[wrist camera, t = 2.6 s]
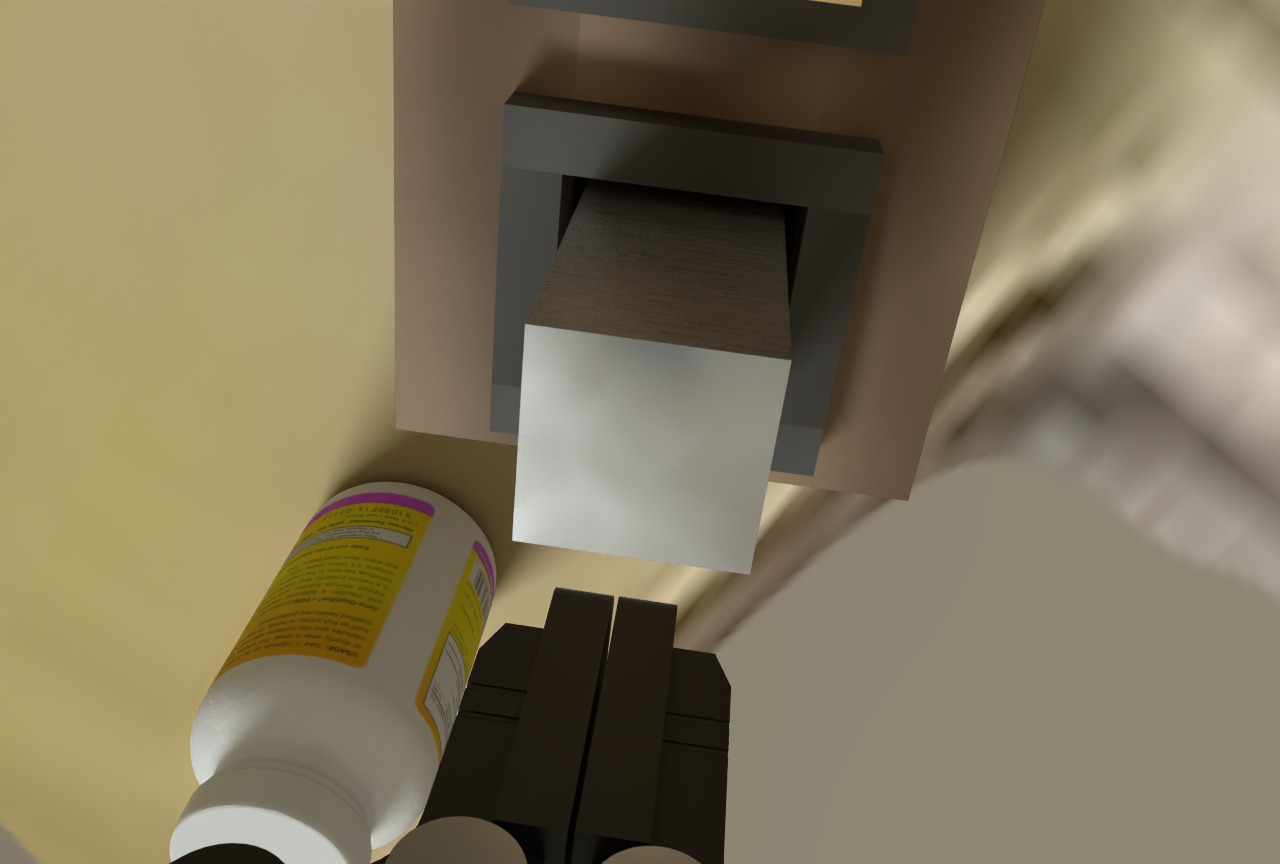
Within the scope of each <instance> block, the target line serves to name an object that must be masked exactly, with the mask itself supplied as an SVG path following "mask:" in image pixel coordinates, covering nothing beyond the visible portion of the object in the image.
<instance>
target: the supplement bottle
mask: <svg viewBox="0 0 1280 864" xmlns="http://www.w3.org/2000/svg"><path fill="white" fill-rule="evenodd" d="M495 587H496V564H495V559H494V555H493V552H492V549H491V547H490V544H489V542H488V540H487V538H486V536H485V535H484V533H483V532H482V530H481V529H480V527H479V526H478V525H477V524H476V522H475V521H474V520H473V519H472V518H471V517H470V516H469V515H468V514H467V513H466V512H465V511H463V510H462V509H461V508H460V507H459V506H457V505H456V504H455V503H453V502H451V501H450V500H448V499H447V498H445V497H443V496H441V495H439V494H438V493H436V492H433V491H431V490H428V489H426V488H423V487H419V486H416V485H412V484H407V483H399V482H373V483H367V484H362V485H359V486H355V487H352V488H350V489H347V490H345V491H343V492H341V493H339V494H337V495H335V496H334V497H333V498H331V499H330V500H328V501H327V502H326V503H325V504H324V505H323V506H322V507H321V508H320V509H319V510H318V511H317V512H316V513H315V515H314V516H313V517H312V519H311V520H310V522H309V523H308V525H307V526H306V528H305V529H304V531H303V533H302V534H301V536H300V538H299V539H298V541H297V543H296V544H295V546H294V548H293V549H292V551H291V553H290V554H289V556H288V558H287V559H286V561H285V563H284V564H283V566H282V568H281V570H280V571H279V573H278V574H277V576H276V578H275V579H274V581H273V583H272V584H271V586H270V588H269V589H268V591H267V593H266V594H265V596H264V598H263V600H262V601H261V603H260V605H259V606H258V608H257V610H256V611H255V613H254V615H253V616H252V618H251V620H250V621H249V623H248V625H247V626H246V628H245V630H244V632H243V633H242V635H241V637H240V638H239V640H238V642H237V643H236V645H235V647H234V648H233V650H232V652H231V653H230V655H229V657H228V658H227V660H226V662H225V663H224V665H223V667H222V668H221V670H220V671H219V673H218V675H217V676H216V678H215V680H214V681H213V683H212V685H211V687H210V688H209V690H208V692H207V694H206V695H205V697H204V699H203V701H202V703H201V705H200V707H199V709H198V711H197V713H196V716H195V719H194V722H193V726H192V731H191V737H190V753H191V759H192V764H193V769H194V772H195V775H196V778H197V780H198V782H199V784H200V786H199V787H198V788H197V790H196V791H195V792H194V793H193V795H192V796H191V798H190V800H189V802H188V804H187V806H186V807H185V809H184V811H183V813H182V815H181V817H180V819H179V821H178V822H177V824H176V826H175V829H174V831H173V834H172V837H171V841H170V858H171V861H172V862H173V861H175V860H176V859H178V858H180V857H182V856H184V855H186V854H188V853H190V852H192V851H195V850H198V849H201V848H203V847H207V846H212V845H216V844H224V843H243V844H249V845H254V846H258V847H260V848H263V849H266V850H268V851H269V852H271V853H273V854H274V855H276V856H277V857H278V858H279V859H281V860H282V861H283V862H284V863H285V864H370V861H371V851H372V850H374V849H376V848H379V847H381V846H383V845H385V844H386V843H388V842H390V841H392V840H393V839H395V838H396V837H398V836H399V835H401V834H402V833H403V832H405V831H406V830H407V829H408V828H409V827H410V826H411V825H412V824H413V823H414V822H415V820H416V819H417V818H418V816H419V815H420V814H421V813H422V811H423V809H424V808H425V806H426V803H427V800H428V797H429V794H430V791H431V789H432V786H433V783H434V780H435V777H436V774H437V771H438V768H439V765H440V762H441V759H442V756H443V753H444V750H445V747H446V744H447V741H448V739H449V736H450V733H451V730H452V726H453V723H454V720H455V717H456V714H457V711H458V708H459V705H460V701H461V698H462V695H463V693H464V689H465V686H466V683H467V680H468V677H469V674H470V671H471V668H472V665H473V662H474V659H475V656H476V652H477V649H478V647H479V643H480V640H481V637H482V634H483V631H484V628H485V624H486V621H487V618H488V615H489V612H490V608H491V605H492V600H493V597H494V593H495Z"/></svg>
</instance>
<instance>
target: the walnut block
mask: <svg viewBox="0 0 1280 864" xmlns="http://www.w3.org/2000/svg"><path fill="white" fill-rule="evenodd" d="M1044 3H1045V0H862V4H861V7H860V6H852V5H844V4H836V3H829V2H821V1H813V0H393V40H394V222H395V404H396V429H400V430H408V431H415V432H422V433H429V434H436V435H443V436H450V437H457V438H465V439H472V440H479V441H486V442H493V443H500V444H507V445H514V446H518V435H519V418H520V401H521V384H522V367H523V351H524V334H525V323H526V321H527V318H528V316H529V314H530V312H531V309H532V307H533V305H534V303H535V300H536V298H537V296H538V294H539V291H540V289H541V287H542V284H543V282H544V280H545V278H546V275H547V273H548V271H549V269H550V266H551V264H552V262H553V259H554V257H555V255H556V253H557V250H558V248H559V246H560V244H561V241H562V239H563V237H564V235H565V232H566V230H567V228H568V225H569V223H570V221H571V219H572V216H573V214H574V212H575V210H576V207H577V205H578V203H579V200H580V198H581V196H582V194H583V191H584V189H585V187H586V185H587V182H588V180H589V178H594V179H601V180H609V181H616V182H624V183H631V184H638V185H646V186H653V187H661V188H668V189H676V190H683V191H691V192H698V193H706V194H713V195H721V196H728V197H736V198H743V199H751V200H758V201H766V202H773V203H781V204H783V206H784V225H785V244H786V263H787V282H788V301H789V320H790V339H791V358H792V361H791V366H790V372H789V377H788V382H787V387H786V392H785V397H784V402H783V407H782V412H781V417H780V423H779V428H778V433H777V438H776V443H775V448H774V453H773V458H772V463H771V469H770V474H769V479H768V481H770V482H778V483H785V484H792V485H799V486H806V487H813V488H820V489H827V490H834V491H842V492H849V493H856V494H863V495H870V496H877V497H884V498H891V499H899V500H906V501H908V499H909V495H910V492H911V488H912V485H913V481H914V477H915V474H916V470H917V466H918V463H919V459H920V455H921V452H922V448H923V444H924V441H925V437H926V434H927V430H928V426H929V423H930V419H931V415H932V412H933V408H934V404H935V401H936V397H937V393H938V390H939V386H940V382H941V379H942V375H943V372H944V368H945V364H946V361H947V357H948V353H949V350H950V346H951V342H952V339H953V335H954V331H955V328H956V324H957V320H958V317H959V313H960V310H961V306H962V302H963V299H964V295H965V291H966V288H967V284H968V280H969V277H970V273H971V269H972V266H973V262H974V259H975V255H976V251H977V248H978V244H979V240H980V237H981V233H982V229H983V226H984V222H985V218H986V215H987V211H988V207H989V204H990V200H991V197H992V193H993V189H994V186H995V182H996V178H997V175H998V171H999V167H1000V164H1001V160H1002V156H1003V153H1004V149H1005V145H1006V142H1007V138H1008V135H1009V131H1010V127H1011V124H1012V120H1013V116H1014V113H1015V109H1016V105H1017V102H1018V98H1019V94H1020V91H1021V87H1022V84H1023V80H1024V76H1025V73H1026V69H1027V65H1028V62H1029V58H1030V54H1031V51H1032V47H1033V43H1034V40H1035V36H1036V32H1037V29H1038V25H1039V22H1040V18H1041V14H1042V11H1043V7H1044Z"/></svg>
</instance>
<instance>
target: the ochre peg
mask: <svg viewBox="0 0 1280 864" xmlns="http://www.w3.org/2000/svg"><path fill="white" fill-rule="evenodd" d="M813 1H821V2H829V3H836V4H844V5H852V6H860V7H861V4H862V0H813Z"/></svg>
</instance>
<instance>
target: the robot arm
mask: <svg viewBox="0 0 1280 864" xmlns="http://www.w3.org/2000/svg"><path fill="white" fill-rule="evenodd" d="M613 606H614V596H611V595H604V594H598V593H591V592H584V591H577V590H571V589H564V588H557V587H556V588H555V590H554V593H553V597H552V600H551V604H550V608H549V612H548V615H547V619H546V623H545V626H544V629H543V628H536V627H530V626H523V625H516V624H510V623H505V624H504V625H503V626H502V627H501V628H500V629H499V630H498V631H497V632H496V633H495V634H494V635H493V636H492V637H491V638H490V639H489V640H488V641H487V642H486V643H485V644H484V645H483V646H482V647H480V648H479V650H478V653H477V656H476V659H475V662H474V665H473V668H472V671H471V674H470V677H469V680H468V684H467V688H465V691H464V694H463V697H462V700H461V703H460V706H459V710H458V715H457V716H456V718H455V721H454V724H453V727H452V730H451V733H450V736H449V739H448V741H447V744H446V747H445V750H444V753H443V756H442V759H441V762H440V765H439V768H438V771H437V774H436V777H435V780H434V783H433V786H432V789H431V791H430V794H429V797H428V800H427V803H426V806H425V809H424V812H423V815H422V817H421V819H420V821H419V824H418V825H417V827H416V828H415V829H414V830H412V831H410V832H409V833H408V834H407V835H405V836H404V837H403V838H402V839H401V840H400V841H399V842H398V843H397V844H396V846H395V847H394V848H393V849H392V851H391V853H390V854H388V855H387V856H385V857H383V858H382V859H380V860H378V861H375V862H373V863H371V864H724V841H725V817H726V793H727V770H728V746H729V722H730V699H731V686H730V684H729V682H728V680H727V678H726V676H725V673H724V671H723V669H722V667H721V665H720V663H719V662H718V659H717V657H716V655H715V654H712V653H705V652H699V651H692V650H685V649H679V648H673V641H674V633H675V624H676V615H677V605H673V604H667V603H660V602H653V601H647V600H640V599H633V598H626V597H620V596H619V599H618V604H617V610H616V615H615V620H614V626H613V631H612V636H611V642H610V647H609V639H610V631H611V623H612V614H613ZM608 647H609V652H608ZM607 656H608V658H607ZM169 864H285V863H284V862H283V861H282V860H281V859H279V858H278V857H277V856H276V855H274V854H273V853H271V852H269V851H268V850H266V849H263V848H260V847H258V846H254V845H249V844H243V843H224V844H216V845H212V846H207V847H203V848H201V849H198V850H195V851H192V852H190V853H188V854H186V855H184V856H182V857H180V858H178V859H176V860H175V861H173V862H171V863H169Z"/></svg>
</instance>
